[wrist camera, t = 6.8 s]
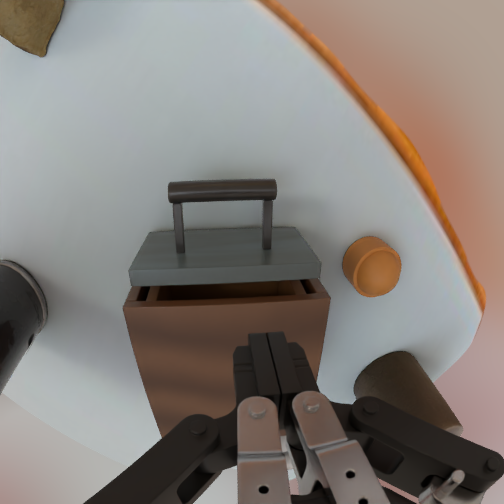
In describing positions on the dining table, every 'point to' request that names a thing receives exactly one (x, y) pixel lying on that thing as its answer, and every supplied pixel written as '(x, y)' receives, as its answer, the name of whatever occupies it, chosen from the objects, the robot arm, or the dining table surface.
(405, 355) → the pillar candle
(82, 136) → the dining table surface
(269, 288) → the drawer
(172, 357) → the cabinet
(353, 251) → the orange domed cylinder
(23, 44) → the rock
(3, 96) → the dining table surface
